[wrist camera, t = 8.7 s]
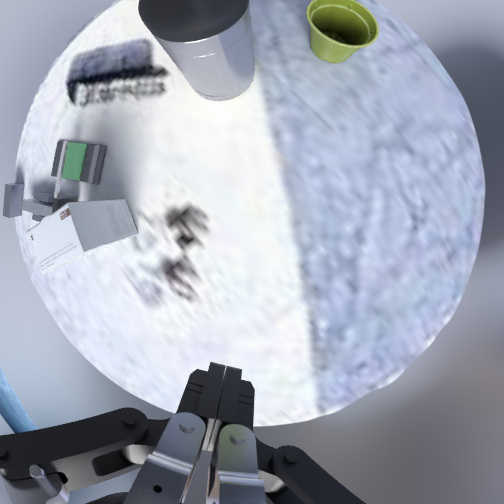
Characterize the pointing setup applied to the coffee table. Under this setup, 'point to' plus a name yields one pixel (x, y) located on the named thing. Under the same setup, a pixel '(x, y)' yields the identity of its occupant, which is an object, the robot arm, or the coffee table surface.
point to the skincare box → (79, 232)
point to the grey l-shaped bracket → (58, 202)
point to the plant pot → (340, 28)
